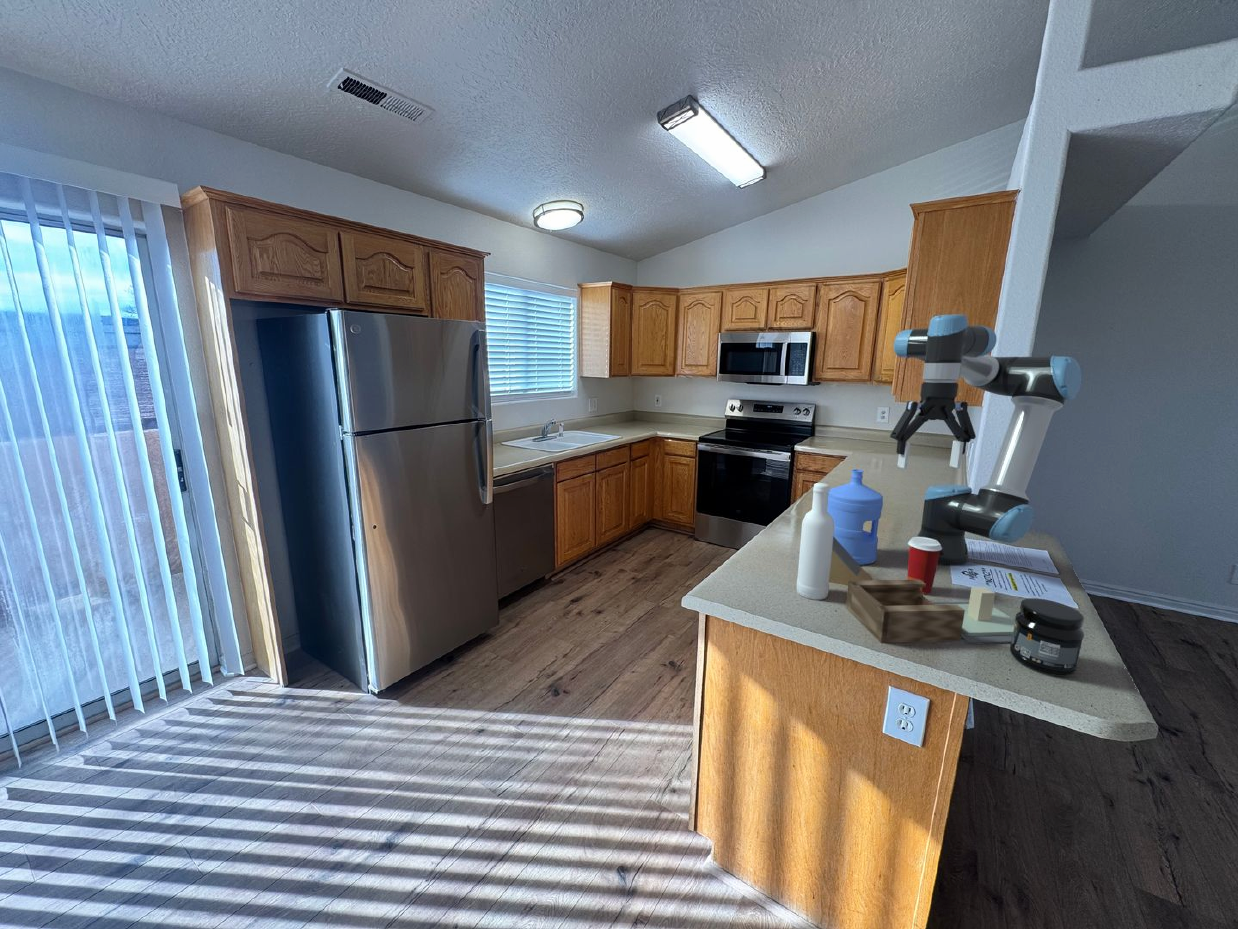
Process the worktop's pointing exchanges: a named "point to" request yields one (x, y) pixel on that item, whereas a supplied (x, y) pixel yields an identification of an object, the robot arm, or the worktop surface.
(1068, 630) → the supplement container
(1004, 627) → the cover plate
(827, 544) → the bottle
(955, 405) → the robot arm
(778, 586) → the worktop surface
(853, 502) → the water jug
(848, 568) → the sandwich container
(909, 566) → the paper cup
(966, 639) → the charcoal mat
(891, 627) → the walnut box
